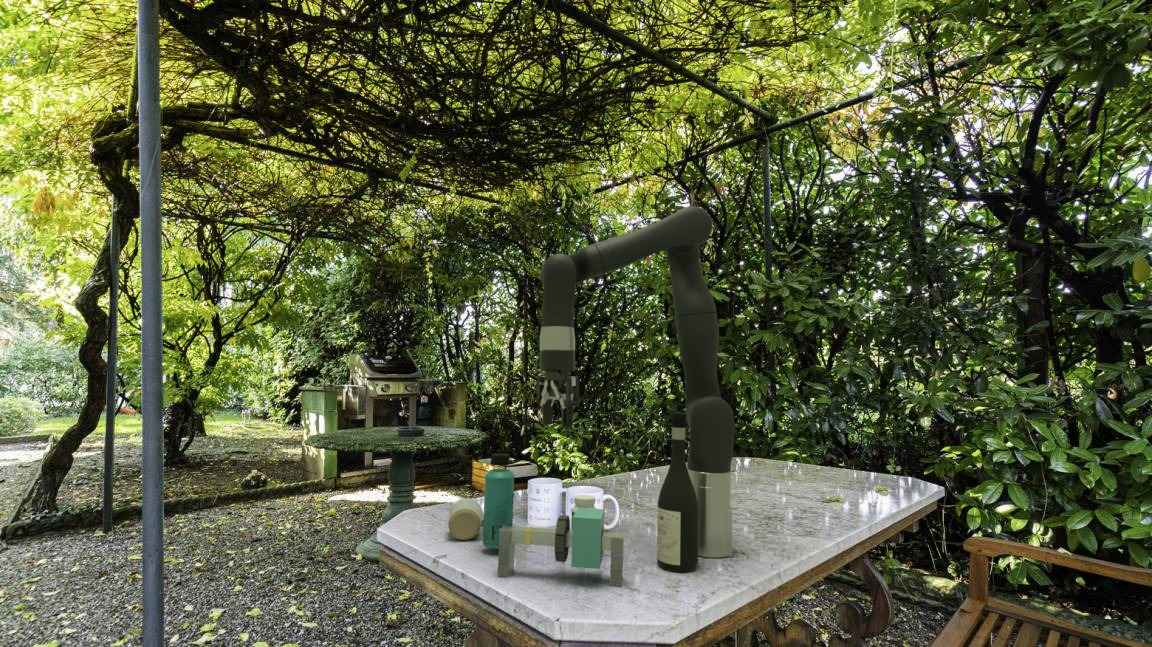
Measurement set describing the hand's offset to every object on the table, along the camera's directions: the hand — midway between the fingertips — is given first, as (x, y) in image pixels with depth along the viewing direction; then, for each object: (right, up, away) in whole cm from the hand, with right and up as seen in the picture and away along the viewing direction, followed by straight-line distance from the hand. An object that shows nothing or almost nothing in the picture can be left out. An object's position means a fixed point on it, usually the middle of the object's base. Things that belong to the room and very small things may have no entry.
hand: (556, 426), depth 118 cm
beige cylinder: (-20, -27, +9) cm, 35 cm away
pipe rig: (+1, -25, -15) cm, 29 cm away
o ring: (+1, -22, -15) cm, 26 cm away
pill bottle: (+6, -27, +6) cm, 29 cm away
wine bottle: (+24, -27, -7) cm, 37 cm away
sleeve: (+6, -22, -15) cm, 28 cm away
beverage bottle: (-12, -26, -1) cm, 29 cm away
